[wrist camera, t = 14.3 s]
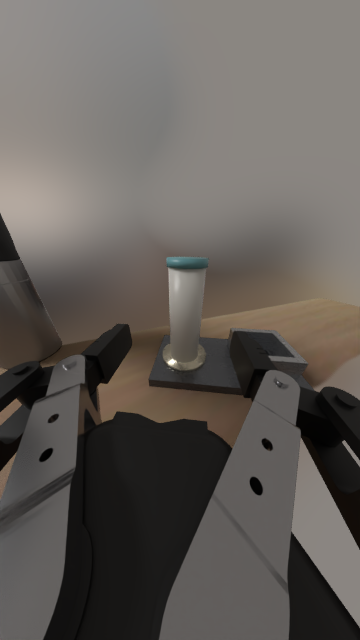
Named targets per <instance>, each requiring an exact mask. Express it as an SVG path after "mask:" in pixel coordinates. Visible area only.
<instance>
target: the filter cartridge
mask: <svg viewBox="0 0 360 640" xmlns="http://www.w3.org/2000/svg"><path fill="white" fill-rule="evenodd" d="M208 260H209V259H208V258H202V257H167V267H168V268H169V306H170V344H171V356H172V358H173V359H174V360H176V361H178V362H181V363H188V362H192V361H194V360H195V359H196V358H197V356H198V346H199V336H200V326H201V315H202V305H203V295H204V284H205V274H206V268H207V267H208Z"/></svg>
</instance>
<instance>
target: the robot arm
mask: <svg viewBox="0 0 360 640" xmlns="http://www.w3.org/2000/svg"><path fill="white" fill-rule="evenodd" d="M61 345H62V341H61V339H60V337H59V335H58V333H57V331H56V329H55V327H54V325H53V323H52V321H51V319H50V317H49V315H48V313H47V311H46V309H45V307H44V305H43V303H42V301H41V299H40V297H39V295H38V293H37V291H36V289H35V287H34V285H33V283H32V281H31V279H30V277H29V275H28V273H27V271H26V269H25V267H24V265H23V263H22V261H21V260H20V257H19V255H18V253H17V251H16V249H15V246H14V243H13V240H12V238H11V236H10V233H9V231H8V229H7V227H6V225H5V223H4V221H3V219H2V216H1V214H0V367H1V368H5V369H9V370H8V371H6V372H5V373H3V374H2V375H0V412H1V411H2V410H3V409H4V408H5V407H7V406H8V405H9V404H10V403H11V402H12V401H13V400H15V399H16V398H17V399H18V400H19V401H20V403H21V404H22V406H21V407H20V408H19V409H18V410H17V411H15V412H14V413H13V414H12V415H11V416H10V417H9V418H8V419H7V420H6V421H5V422H4V423H3V424H2V425H1V426H0V471H1V470H2V469H3V467H4V466H5V465H6V464H7V463H8V461H9V460H10V459H11V458H12V457H13V455H14V454H15V453H16V452H17V454H16V457H15V460H14V462H13V465H12V468H11V471H10V474H9V477H8V480H7V483H6V486H5V489H4V492H3V495H2V497H1V500H0V640H360V628H359V626H358V625H357V623H356V622H355V621H354V619H353V618H352V616H351V615H350V613H349V612H348V611H347V609H346V608H345V606H344V605H343V604H342V602H341V601H340V600H339V598H338V597H337V595H336V594H335V592H334V591H333V590H332V588H331V587H330V585H329V584H328V582H327V581H326V580H325V578H324V577H323V575H322V574H321V573H320V571H319V570H318V568H317V567H316V566H315V564H314V563H313V561H312V560H311V559H310V557H309V556H308V554H307V553H306V552H305V550H304V549H303V547H302V546H301V544H300V543H299V541H298V540H297V539H296V537H295V536H294V534H293V533H292V532H291V528H292V518H293V506H294V498H295V487H296V477H297V466H298V457H299V447H300V437H301V438H302V440H303V442H304V443H305V445H306V447H307V449H308V451H309V453H310V455H311V457H312V459H313V461H314V463H315V465H316V466H317V469H318V470H319V472H320V474H321V476H322V478H323V480H324V482H325V484H326V485H327V488H328V490H329V491H330V493H331V495H332V497H333V499H334V501H335V503H336V505H337V507H338V509H339V510H340V513H341V515H342V517H343V519H344V520H345V522H346V524H347V526H348V528H349V530H350V532H351V534H352V536H353V538H354V540H355V542H356V543H357V545H358V547H359V549H360V467H359V466H358V464H357V463H356V461H355V460H354V459H353V458H352V456H351V454H350V453H349V452H348V450H347V449H346V448H345V446H344V445H343V443H342V441H344V440H345V441H346V442H347V444H348V445H349V446H350V448H351V449H352V450H353V452H354V453H355V454H356V456H357V457H358V458H359V460H360V400H358V399H357V398H355V397H354V396H352V395H351V394H349V393H347V392H345V391H343V390H341V389H338V388H334V387H324V388H323V389H322V390H321V391H320V392H316V391H313V390H310V389H307V388H303V387H300V386H299V385H298V383H297V382H296V381H295V380H294V379H293V378H292V377H290V376H289V375H287V374H285V373H283V372H281V371H278V369H277V368H276V367H275V365H274V364H273V362H272V361H271V359H270V358H269V356H268V355H267V354H266V352H265V351H264V350H263V348H262V346H261V345H260V344H259V343H258V342H257V341H256V340H254V339H252V338H250V337H249V336H248V334H247V333H246V331H234V332H233V335H232V339H231V344H230V349H229V353H230V357H231V360H232V363H233V366H234V369H235V372H236V375H237V378H238V381H239V384H240V387H241V390H242V393H243V396H244V398H251V399H252V402H253V403H252V406H251V408H250V410H249V412H248V415H247V417H246V419H245V422H244V424H243V426H242V428H241V431H240V433H239V435H238V438H237V440H236V442H235V445H234V447H233V449H232V448H231V447H230V446H229V444H228V443H227V442H225V441H224V440H223V439H222V438H221V437H220V436H218V435H217V434H215V433H213V432H212V431H210V430H208V429H207V422H206V421H197V420H188V419H181V420H176V421H170V422H165V423H157V422H155V421H153V420H150V419H148V418H146V417H144V416H142V415H140V414H135V413H126V412H116V414H115V416H114V418H113V419H112V420H109V421H106V422H103V423H102V420H101V415H100V404H99V392H98V387H97V386H98V385H99V384H100V383H104V384H108V382H109V381H110V379H111V378H112V376H113V374H114V373H115V371H116V370H117V368H118V367H119V365H120V364H121V362H122V361H123V359H124V358H125V356H126V355H127V353H128V351H129V350H130V348H131V346H132V338H131V333H130V328H129V325H128V324H117V325H116V326H114V327H113V328H112V329H111V330H109V331H107V332H105V333H103V334H102V335H101V336H100V337H99V338H98V339H97V340H96V341H95V342H94V343H92V344H91V345H90V346H89V347H88V348H87V349H86V350H85V351H84V352H83V353H82V354H80V355H73V356H69V357H67V358H65V359H63V360H61V361H60V362H58V363H57V364H56V365H55V366H50V367H44V368H42V367H41V365H40V363H39V361H41V360H43V359H45V358H47V357H49V356H50V355H52V354H53V353H55V352H56V351H57V350H58V349H59V348H60V347H61Z"/></svg>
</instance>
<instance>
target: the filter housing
mask: <svg viewBox="0 0 360 640" xmlns="http://www.w3.org/2000/svg"><path fill="white" fill-rule="evenodd" d="M234 331H246V333H247V334H248V336H249V337H250V338H252V339H254V340H256V341H257V342H258V343H259V344H260V345H261V346H262V348H263V350H264V351H265V352H266V354H267V355H268V356H269V358H270V359H271V361H272V362H273V364H274V365H275V367H276V368H277V369H278V371H281V372H283V373H285V374H287V375H289V376H290V377H292V378H293V379H294V380H295V381H296V382H297V383H298V385H299V386H300V387H303V388H307V389H310V390H313V391H314V389H313V388H312V387H311V386H310V385H309V383H308V382H307V381H306V380H305V379H304V378H303V376H302V373H303V371H304V370H305V368H306V367H307V365H308V363H307V362H306V361H305V360H304V359H303V358H302V357H301V356H300V355H299V354H298V353H297V352H296V351H295V349H294V348H293V347H292V346H291V345H290V344H289V343H288V342H287V341H286V340H285V339H284V338H283V337H282V336H281V335H280V334H279V333H278V332H277V331H274V330H257V329H240V328H231V329H230V334H229V338H228V339H216V338H201V337H199V346H198V356H197V358H196V359H195V360H194V361H192V362H188V363H181V362H178V361H176V360H174V359H173V358H172V356H171V344H170V335H164V338H163V341H162V343H161V346H160V349H159V352H158V355H157V357H156V360H155V363H154V366H153V369H152V371H151V374H150V377H149V386H155V387H165V388H176V389H186V390H196V391H206V392H216V393H226V394H236V395H243V393H242V390H241V387H240V384H239V381H238V378H237V375H236V372H235V369H234V366H233V363H232V360H231V357H230V353H229V349H230V344H231V339H232V335H233V332H234Z"/></svg>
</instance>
